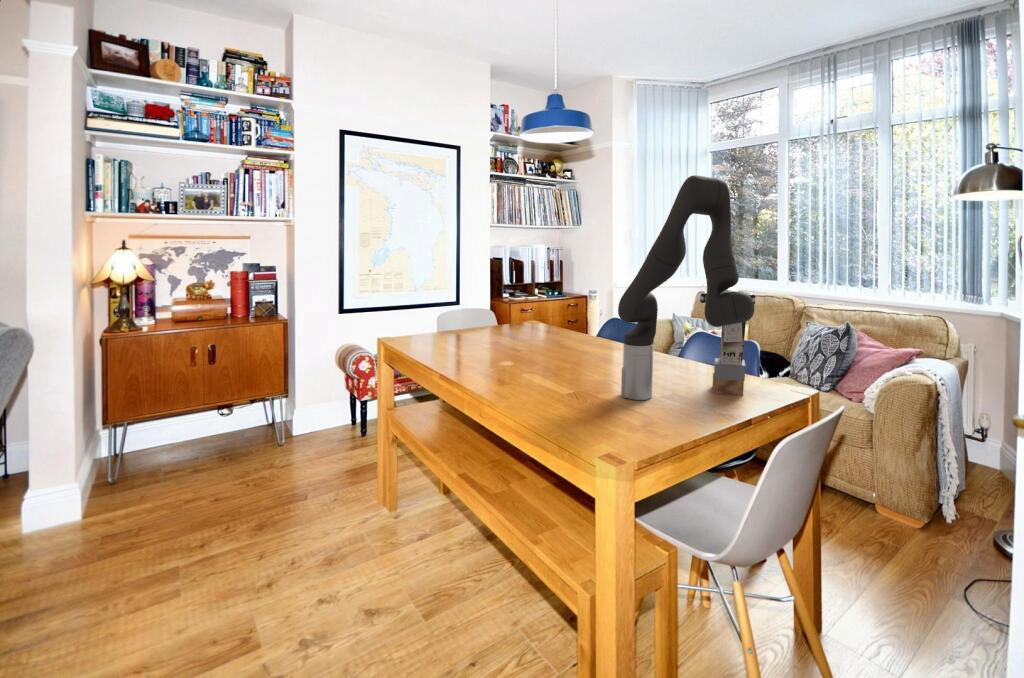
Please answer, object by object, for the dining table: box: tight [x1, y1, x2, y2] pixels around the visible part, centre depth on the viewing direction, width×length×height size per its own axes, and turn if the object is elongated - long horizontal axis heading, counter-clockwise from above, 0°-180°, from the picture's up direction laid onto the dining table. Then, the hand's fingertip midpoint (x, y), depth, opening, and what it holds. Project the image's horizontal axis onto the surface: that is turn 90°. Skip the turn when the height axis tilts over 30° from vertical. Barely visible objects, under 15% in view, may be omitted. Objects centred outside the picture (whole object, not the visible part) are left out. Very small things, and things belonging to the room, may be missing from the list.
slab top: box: [713, 357, 746, 382], centre depth 174 cm, size 9×9×5 cm
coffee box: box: [719, 321, 747, 365], centre depth 171 cm, size 9×6×16 cm
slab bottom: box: [712, 372, 745, 397], centre depth 174 cm, size 9×9×5 cm
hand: (727, 295), depth 152 cm, fingers open, 8 cm apart
